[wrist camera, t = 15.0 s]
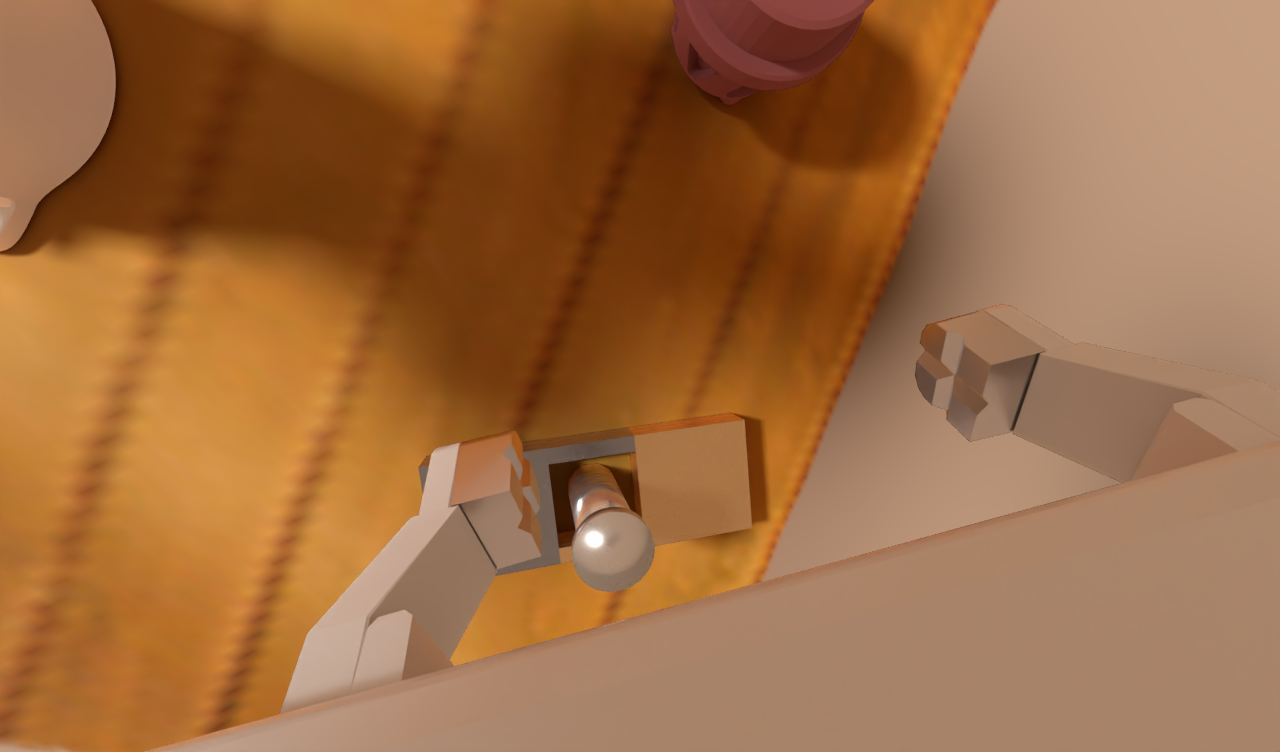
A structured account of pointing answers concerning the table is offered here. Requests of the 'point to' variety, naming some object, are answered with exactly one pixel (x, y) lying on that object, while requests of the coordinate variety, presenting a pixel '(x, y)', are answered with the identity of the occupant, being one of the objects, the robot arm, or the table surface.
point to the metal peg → (607, 532)
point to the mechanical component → (760, 42)
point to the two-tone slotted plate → (653, 480)
